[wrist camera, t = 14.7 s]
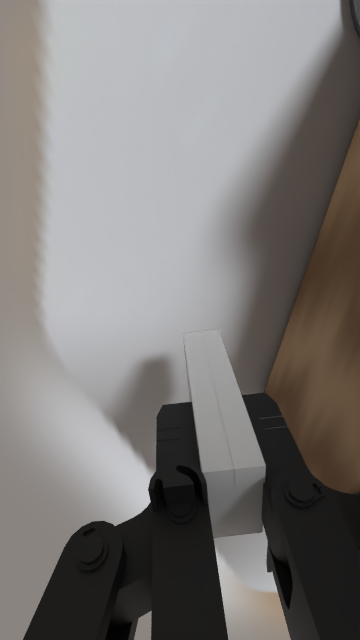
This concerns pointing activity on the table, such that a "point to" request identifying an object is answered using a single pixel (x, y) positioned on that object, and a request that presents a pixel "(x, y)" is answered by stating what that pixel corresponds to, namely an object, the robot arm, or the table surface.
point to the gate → (327, 344)
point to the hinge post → (356, 14)
